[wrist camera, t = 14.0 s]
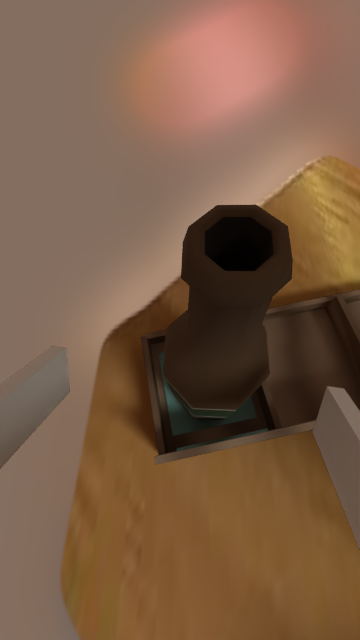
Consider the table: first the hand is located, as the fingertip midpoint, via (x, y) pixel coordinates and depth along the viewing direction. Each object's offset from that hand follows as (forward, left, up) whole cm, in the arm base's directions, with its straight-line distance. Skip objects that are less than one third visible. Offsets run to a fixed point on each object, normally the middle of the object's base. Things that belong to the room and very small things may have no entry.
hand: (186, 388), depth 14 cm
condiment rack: (-13, -3, -18) cm, 22 cm away
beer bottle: (-2, -3, -17) cm, 17 cm away
